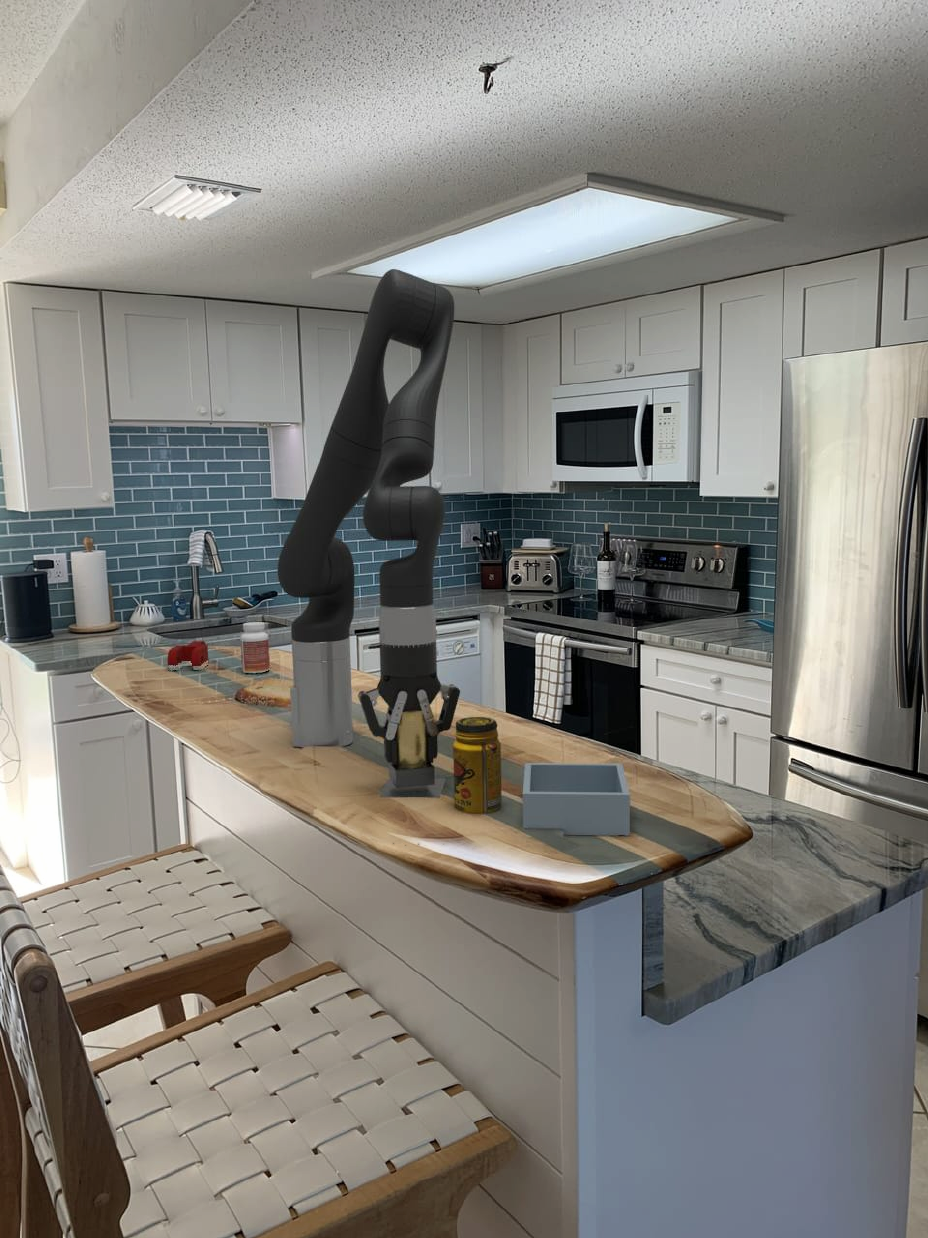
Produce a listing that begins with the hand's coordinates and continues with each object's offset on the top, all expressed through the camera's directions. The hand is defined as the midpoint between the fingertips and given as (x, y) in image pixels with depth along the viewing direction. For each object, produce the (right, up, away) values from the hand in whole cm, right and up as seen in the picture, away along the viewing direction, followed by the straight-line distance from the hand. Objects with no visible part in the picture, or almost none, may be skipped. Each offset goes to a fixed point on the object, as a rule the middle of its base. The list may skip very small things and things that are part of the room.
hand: (411, 762), depth 131 cm
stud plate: (0, -4, +1) cm, 4 cm away
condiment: (+10, -5, -6) cm, 13 cm away
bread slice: (-28, +3, +60) cm, 66 cm away
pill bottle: (-39, +7, +87) cm, 96 cm away
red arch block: (-56, +8, +96) cm, 112 cm away
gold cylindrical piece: (0, -3, 0) cm, 2 cm away
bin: (+21, -5, -10) cm, 24 cm away
